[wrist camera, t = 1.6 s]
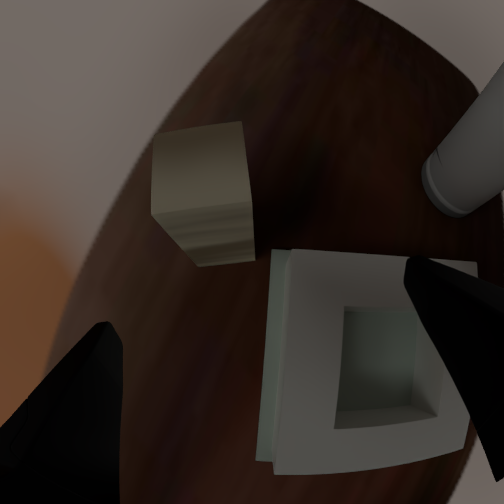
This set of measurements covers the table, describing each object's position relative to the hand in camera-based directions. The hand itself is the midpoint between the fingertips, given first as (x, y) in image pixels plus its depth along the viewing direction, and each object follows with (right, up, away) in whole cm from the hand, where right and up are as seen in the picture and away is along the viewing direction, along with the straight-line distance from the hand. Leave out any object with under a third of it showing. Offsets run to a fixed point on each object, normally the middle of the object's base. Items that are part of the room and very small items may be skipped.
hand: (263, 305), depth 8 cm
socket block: (+8, -6, +11) cm, 15 cm away
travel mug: (+17, +7, +14) cm, 24 cm away
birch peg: (-2, +3, +13) cm, 14 cm away
